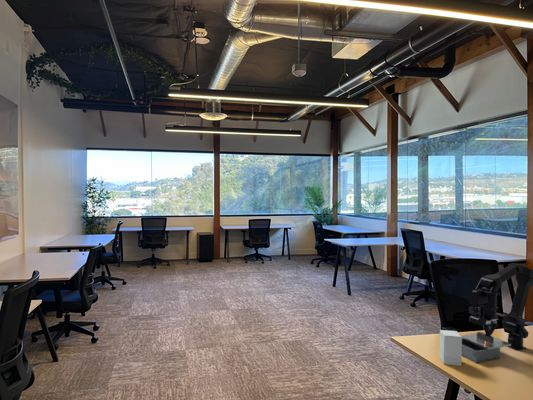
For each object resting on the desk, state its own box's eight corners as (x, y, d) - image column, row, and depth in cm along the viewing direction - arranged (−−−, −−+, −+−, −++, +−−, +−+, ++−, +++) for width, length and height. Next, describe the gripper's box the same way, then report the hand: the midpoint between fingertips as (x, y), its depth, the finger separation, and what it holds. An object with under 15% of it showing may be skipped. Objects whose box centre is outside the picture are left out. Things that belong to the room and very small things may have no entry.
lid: (482, 334, 180) (482, 327, 180) (511, 345, 167) (511, 338, 167) (460, 337, 175) (460, 330, 175) (487, 349, 162) (488, 342, 162)
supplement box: (461, 366, 157) (462, 337, 157) (443, 364, 158) (443, 335, 158) (456, 358, 164) (457, 330, 164) (438, 357, 166) (439, 329, 165)
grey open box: (472, 346, 178) (472, 336, 178) (499, 358, 165) (499, 347, 165) (450, 350, 173) (450, 339, 173) (476, 363, 160) (477, 351, 160)
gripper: (487, 297, 182) (486, 329, 183) (459, 300, 176) (458, 333, 176) (509, 304, 172) (508, 337, 172) (480, 307, 166) (479, 341, 166)
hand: (488, 337), depth 172 cm, fingers closed
